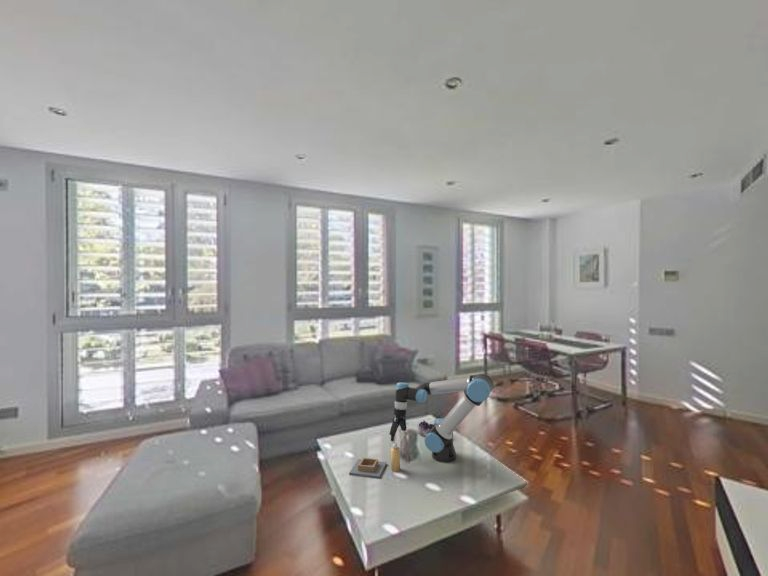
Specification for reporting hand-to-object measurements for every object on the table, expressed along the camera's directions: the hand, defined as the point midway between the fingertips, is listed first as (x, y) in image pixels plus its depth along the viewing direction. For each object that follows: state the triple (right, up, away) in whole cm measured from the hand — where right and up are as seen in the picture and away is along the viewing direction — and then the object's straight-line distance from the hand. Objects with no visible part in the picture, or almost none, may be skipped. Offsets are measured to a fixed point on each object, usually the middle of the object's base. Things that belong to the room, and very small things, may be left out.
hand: (397, 444), depth 221 cm
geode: (+25, -10, +37) cm, 46 cm away
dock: (-17, -12, -7) cm, 22 cm away
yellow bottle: (-1, -12, -8) cm, 14 cm away
